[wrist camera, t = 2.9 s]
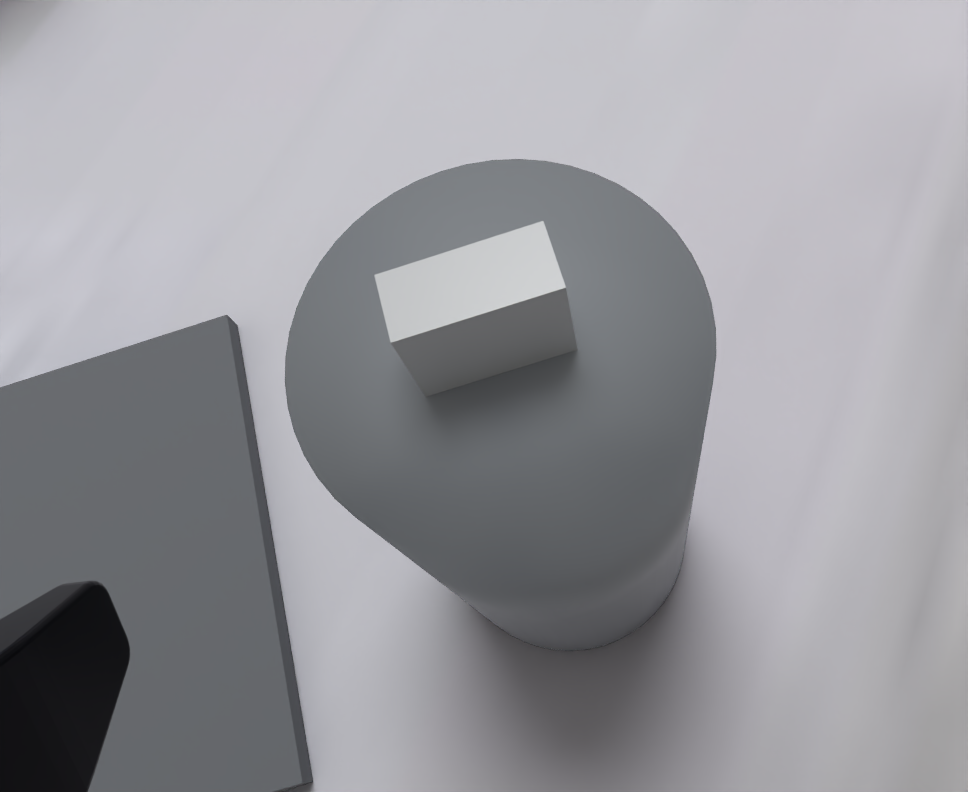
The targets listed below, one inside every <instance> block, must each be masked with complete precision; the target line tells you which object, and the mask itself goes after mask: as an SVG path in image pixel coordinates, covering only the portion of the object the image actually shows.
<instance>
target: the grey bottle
mask: <svg viewBox="0 0 968 792" xmlns="http://www.w3.org/2000/svg"><path fill="white" fill-rule="evenodd" d="M715 361H716V327H715V321H714V315H713V309H712V303H711V300H710V296H709V293H708V290H707V287H706V284H705V281H704V278H703V276H702V274H701V272H700V270H699V268H698V266H697V264H696V262H695V260H694V258H693V256H692V254H691V252H690V251H689V249H688V248H687V246H686V245H685V244H684V242H683V241H682V239H681V238H680V236H679V235H678V233H677V232H676V231H675V230H674V229H673V228H672V227H671V226H670V225H669V223H668V222H667V221H666V220H665V219H664V218H663V217H662V216H661V215H660V214H659V213H658V212H657V211H656V210H654V209H653V208H652V207H651V206H649V205H648V204H647V203H646V202H645V201H643V200H642V199H641V198H640V197H638V196H636V195H635V194H633V193H632V192H630V191H628V190H627V189H625V188H624V187H622V186H620V185H619V184H617V183H615V182H612V181H610V180H608V179H606V178H604V177H601V176H599V175H597V174H595V173H592V172H589V171H585V170H582V169H579V168H576V167H573V166H569V165H564V164H558V163H553V162H548V161H538V160H524V159H511V160H491V161H485V162H479V163H472V164H466V165H463V166H459V167H455V168H451V169H448V170H444V171H441V172H438V173H436V174H433V175H430V176H428V177H425V178H423V179H420V180H418V181H416V182H414V183H412V184H410V185H408V186H406V187H404V188H402V189H400V190H398V191H396V192H394V193H393V194H391V195H390V196H388V197H387V198H385V199H384V200H382V201H381V202H379V203H378V204H376V205H375V206H373V207H372V208H371V209H370V210H369V211H367V212H366V213H365V214H364V215H363V216H361V217H360V218H359V219H358V220H357V221H355V222H354V223H353V224H352V225H351V226H350V227H349V228H348V229H347V230H346V231H345V232H344V233H343V234H342V235H341V237H340V238H339V239H338V240H337V241H336V242H335V243H334V244H333V246H332V247H331V248H330V250H329V251H328V252H327V254H326V255H325V256H324V257H323V259H322V260H321V261H320V263H319V265H318V266H317V268H316V270H315V271H314V273H313V275H312V276H311V278H310V280H309V281H308V283H307V285H306V287H305V290H304V292H303V294H302V297H301V299H300V301H299V303H298V306H297V308H296V312H295V315H294V318H293V322H292V325H291V328H290V332H289V338H288V345H287V351H286V360H285V387H286V395H287V404H288V410H289V414H290V417H291V421H292V425H293V429H294V432H295V435H296V437H297V440H298V442H299V444H300V447H301V449H302V451H303V454H304V456H305V458H306V459H307V461H308V463H309V464H310V466H311V468H312V469H313V471H314V473H315V474H316V476H317V478H318V479H319V480H320V481H321V482H322V484H323V485H324V486H325V487H326V489H327V490H328V491H329V492H330V493H331V495H332V496H333V497H334V498H335V499H336V500H337V501H338V502H339V503H340V504H341V505H342V506H344V507H345V508H346V509H347V510H348V511H349V512H350V513H351V514H352V515H353V516H355V517H356V518H357V519H358V520H360V521H361V522H362V523H364V524H365V525H366V526H368V527H369V528H370V529H371V530H373V531H374V532H375V533H377V534H378V535H379V536H381V537H382V538H383V539H385V540H386V541H387V542H388V543H390V544H391V545H392V546H394V547H395V548H396V549H398V550H399V551H400V552H401V553H403V554H404V555H405V556H407V557H408V558H409V559H411V560H412V561H413V562H414V563H416V564H417V565H418V566H420V567H421V568H422V569H424V570H425V571H426V572H428V573H429V574H430V575H431V576H433V577H434V578H435V579H437V580H438V581H439V582H441V583H442V584H443V585H444V586H446V587H447V588H448V589H450V590H451V591H452V592H454V593H455V594H456V595H458V596H459V597H460V598H461V599H463V600H464V601H465V602H467V603H468V604H469V605H471V606H472V607H473V608H474V609H476V610H477V611H478V612H480V613H481V614H482V615H484V616H485V617H486V618H488V619H489V620H490V621H491V622H493V623H494V624H495V625H497V626H498V627H499V628H501V629H502V630H504V631H505V632H507V633H508V634H510V635H512V636H514V637H516V638H518V639H520V640H522V641H524V642H526V643H529V644H532V645H535V646H538V647H542V648H547V649H552V650H565V651H574V650H586V649H591V648H596V647H600V646H603V645H606V644H609V643H612V642H614V641H617V640H619V639H621V638H623V637H625V636H626V635H628V634H630V633H632V632H633V631H634V630H636V629H637V628H639V627H640V626H641V625H643V624H644V623H645V622H646V621H647V620H648V619H649V618H650V617H651V616H652V615H654V614H655V612H656V611H657V610H658V609H659V607H660V606H661V605H662V604H663V602H664V601H665V600H666V598H667V596H668V595H669V593H670V591H671V590H672V588H673V586H674V583H675V581H676V579H677V576H678V574H679V570H680V567H681V563H682V559H683V554H684V548H685V542H686V537H687V531H688V525H689V519H690V513H691V507H692V502H693V496H694V490H695V484H696V478H697V472H698V466H699V461H700V455H701V449H702V443H703V437H704V431H705V426H706V420H707V414H708V408H709V402H710V396H711V390H712V385H713V377H714V369H715Z"/></svg>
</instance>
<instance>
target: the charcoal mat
mask: <svg viewBox="0 0 968 792" xmlns="http://www.w3.org/2000/svg"><path fill="white" fill-rule="evenodd" d="M82 581H97V582H100V583H102V584H103V585H104V586H105V587H106V589H107V590H108V592H109V594H110V597H111V599H112V602H113V604H114V606H115V609H116V611H117V613H118V616H119V618H120V621H121V623H122V625H123V628H124V630H125V633H126V635H127V637H128V641H129V645H130V660H129V665H128V669H127V672H126V675H125V678H124V681H123V684H122V688H121V691H120V694H119V697H118V700H117V703H116V707H115V710H114V713H113V716H112V719H111V722H110V726H109V729H108V732H107V735H106V738H105V741H104V745H103V748H102V751H101V754H100V757H99V760H98V764H97V767H96V770H95V773H94V776H93V778H92V781H91V784H90V787H89V790H88V792H279V791H282V790H286V789H290V788H293V787H297V786H300V785H304V784H307V783H311V782H313V780H312V774H311V768H310V762H309V756H308V750H307V744H306V738H305V732H304V726H303V720H302V714H301V708H300V702H299V696H298V690H297V684H296V678H295V672H294V665H293V659H292V653H291V647H290V641H289V635H288V629H287V623H286V617H285V611H284V605H283V599H282V593H281V587H280V581H279V575H278V569H277V563H276V557H275V551H274V545H273V539H272V533H271V527H270V521H269V515H268V509H267V502H266V496H265V490H264V484H263V478H262V472H261V466H260V460H259V454H258V448H257V442H256V436H255V430H254V424H253V418H252V412H251V406H250V400H249V394H248V388H247V382H246V376H245V370H244V364H243V358H242V352H241V345H240V339H239V333H238V327H237V324H236V323H235V322H234V321H233V320H232V319H231V318H230V317H229V316H228V315H225V316H221V317H218V318H215V319H212V320H209V321H206V322H203V323H200V324H197V325H193V326H190V327H187V328H184V329H181V330H178V331H175V332H172V333H169V334H165V335H162V336H159V337H156V338H153V339H150V340H147V341H144V342H141V343H137V344H134V345H131V346H128V347H125V348H122V349H119V350H116V351H113V352H109V353H106V354H103V355H100V356H97V357H94V358H91V359H88V360H85V361H81V362H78V363H75V364H72V365H69V366H66V367H63V368H60V369H57V370H54V371H50V372H47V373H44V374H41V375H38V376H35V377H32V378H29V379H26V380H22V381H19V382H16V383H13V384H10V385H7V386H4V387H1V388H0V619H1V618H3V617H5V616H7V615H8V614H10V613H12V612H14V611H15V610H17V609H19V608H20V607H22V606H24V605H26V604H27V603H29V602H31V601H33V600H34V599H36V598H38V597H40V596H41V595H43V594H45V593H46V592H48V591H50V590H52V589H53V588H55V587H57V586H59V585H62V584H65V583H74V582H82Z"/></svg>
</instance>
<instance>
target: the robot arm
mask: <svg viewBox="0 0 968 792" xmlns="http://www.w3.org/2000/svg"><path fill="white" fill-rule="evenodd" d="M129 660H130V645H129V641H128V637H127V635H126V633H125V630H124V628H123V625H122V623H121V621H120V618H119V616H118V613H117V611H116V609H115V606H114V604H113V602H112V599H111V597H110V594H109V592H108V590H107V589H106V587H105V586H104V585H103V584H102V583H100V582H97V581H82V582H74V583H65V584H62V585H59V586H57V587H55V588H53V589H52V590H50V591H48V592H46V593H45V594H43V595H41V596H40V597H38V598H36V599H34V600H33V601H31V602H29V603H27V604H26V605H24V606H22V607H20V608H19V609H17V610H15V611H14V612H12V613H10V614H8V615H7V616H5V617H3V618H1V619H0V792H88V790H89V787H90V784H91V781H92V778H93V776H94V773H95V770H96V767H97V764H98V760H99V757H100V754H101V751H102V748H103V745H104V741H105V738H106V735H107V732H108V729H109V726H110V722H111V719H112V716H113V713H114V710H115V707H116V703H117V700H118V697H119V694H120V691H121V688H122V684H123V681H124V678H125V675H126V672H127V669H128V665H129Z"/></svg>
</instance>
